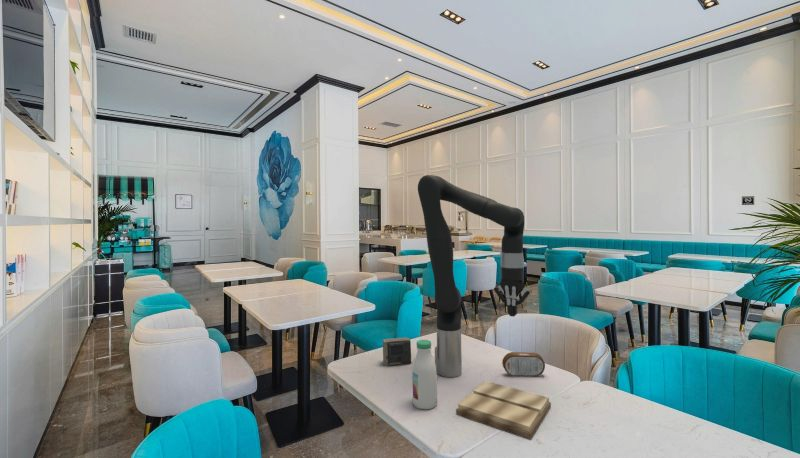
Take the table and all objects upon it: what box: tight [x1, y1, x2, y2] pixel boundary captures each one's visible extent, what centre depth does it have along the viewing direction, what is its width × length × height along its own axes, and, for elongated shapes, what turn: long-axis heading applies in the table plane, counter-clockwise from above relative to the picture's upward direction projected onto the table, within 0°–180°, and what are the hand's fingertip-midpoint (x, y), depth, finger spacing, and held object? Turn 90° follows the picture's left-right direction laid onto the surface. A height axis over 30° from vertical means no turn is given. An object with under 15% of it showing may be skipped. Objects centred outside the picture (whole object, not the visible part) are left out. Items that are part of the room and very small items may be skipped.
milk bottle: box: [411, 339, 438, 410], centre depth 115 cm, size 8×8×20 cm
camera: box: [382, 337, 412, 366], centre depth 148 cm, size 11×6×10 cm, turn 98°
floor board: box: [455, 392, 552, 440], centre depth 110 cm, size 22×20×3 cm
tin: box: [501, 351, 546, 378], centre depth 135 cm, size 15×3×8 cm, turn 84°
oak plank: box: [472, 380, 550, 415], centre depth 115 cm, size 21×9×2 cm, turn 53°
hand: (512, 315), depth 125 cm, fingers closed
